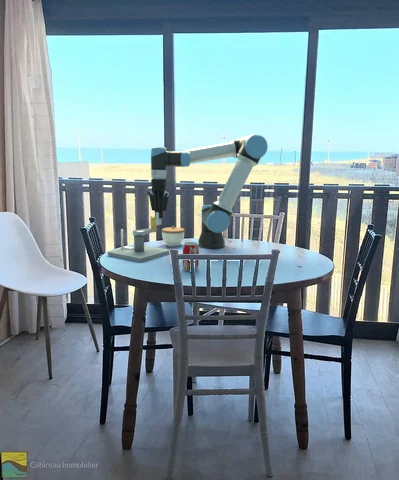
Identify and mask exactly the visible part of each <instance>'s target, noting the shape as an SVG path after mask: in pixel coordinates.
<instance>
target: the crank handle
mask: <svg viewBox="0 0 399 480" xmlns="http://www.w3.org/2000/svg"><path fill="white" fill-rule="evenodd" d="M149 218H150V227H149V228H142V229H134V230H132V236H133V237H134V236H144V237H145V236H146V235H147V234H152V233H157V225H156V218H155V215H151V216H150V217H149Z"/></svg>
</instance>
